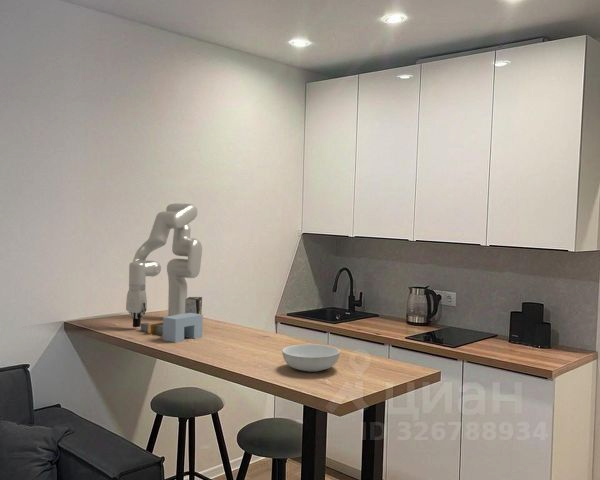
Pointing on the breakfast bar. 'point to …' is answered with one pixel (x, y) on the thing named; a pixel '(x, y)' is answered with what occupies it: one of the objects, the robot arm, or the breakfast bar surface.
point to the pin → (152, 328)
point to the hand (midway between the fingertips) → (136, 326)
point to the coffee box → (193, 305)
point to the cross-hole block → (182, 327)
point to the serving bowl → (310, 357)
